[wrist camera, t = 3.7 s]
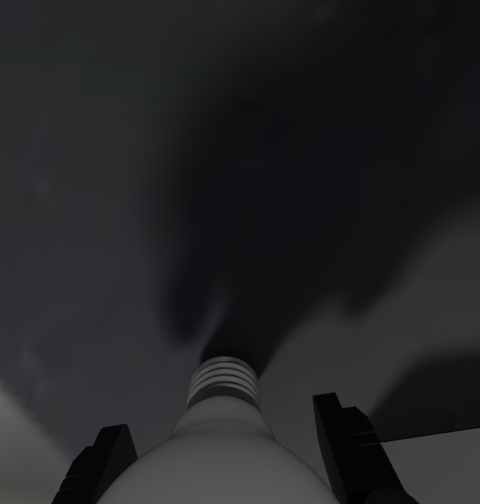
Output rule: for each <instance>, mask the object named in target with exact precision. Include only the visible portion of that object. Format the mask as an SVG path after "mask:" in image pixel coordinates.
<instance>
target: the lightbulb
mask: <svg viewBox="0 0 480 504" xmlns="http://www.w3.org/2000/svg"><path fill="white" fill-rule="evenodd" d="M96 504H340V503H339V501H338V500H337V498H336V497H335V495H334V494H333V493H332V491H331V490H330V489H329V487H328V486H327V485H326V484H325V482H324V481H323V480H322V479H321V478H320V477H319V476H318V475H317V473H316V472H315V471H314V470H313V469H312V468H311V467H310V466H309V465H307V464H306V463H305V462H304V461H303V460H302V459H301V458H299V457H298V456H297V455H296V454H294V453H293V452H292V451H290V450H289V449H288V448H286V447H285V446H283V445H282V444H280V443H279V442H277V441H276V439H275V436H274V434H273V432H272V429H271V427H270V425H269V424H268V422H267V420H266V419H265V418H264V416H263V415H262V411H261V402H260V393H259V385H258V379H257V376H256V374H255V372H254V370H253V369H252V368H251V367H250V366H249V365H248V364H247V363H246V362H244V361H242V360H240V359H238V358H235V357H231V356H218V357H214V358H211V359H208V360H206V361H205V362H203V363H202V364H201V365H199V366H198V368H197V369H196V370H195V371H194V373H193V375H192V378H191V381H190V388H189V394H188V399H187V404H186V409H185V413H184V414H183V415H182V417H181V418H180V419H179V420H178V422H177V423H176V425H175V427H174V429H173V430H172V432H171V435H170V437H169V439H168V440H166V441H164V442H162V443H161V444H159V445H157V446H156V447H154V448H153V449H151V450H150V451H148V452H147V453H145V454H144V455H143V456H141V457H140V458H139V459H137V460H136V461H135V462H134V463H133V464H131V465H130V466H129V467H128V468H127V469H126V470H125V471H124V472H123V473H122V474H121V475H120V476H119V477H118V478H117V479H116V480H115V481H114V482H113V483H112V484H111V485H110V486H109V488H108V489H107V490H106V491H105V492H104V494H103V495H102V496H101V497H100V499H99V500H98V501H97V503H96Z"/></svg>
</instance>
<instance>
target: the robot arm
mask: <svg viewBox="0 0 480 504" xmlns="http://www.w3.org/2000/svg"><path fill="white" fill-rule="evenodd" d="M313 405H314V413H315V420H316V428H317V435H318V441H319V446H320V450H321V454H322V458H323V461H324V465H325V468H326V471H327V475H328V478H329V482H330V485H331V488H332V492H333V494H334V495H335V497H336V498H337V500H338V501H339V503H340V504H419V503H418V502H417V501H416V500H415V499H414V498H413V497H412V496H410V495H409V494H408V493H407V492H406V491H405V489H404V487H403V486H402V484H401V482H400V480H399V478H398V476H397V474H396V472H395V470H394V468H393V466H392V464H391V462H390V460H389V458H388V456H387V454H386V452H385V450H384V448H383V446H382V444H380V440H379V438H378V436H377V434H376V433H375V431H374V429H373V427H372V425H371V423H370V421H369V419H368V417H367V416H366V415H365V414H364V413H362V412H361V411H360V410H359V409H358V408H356V407H348V408H342V407H341V404H340V402H339V400H338V397H337V395H336V393H335V392H333V393H327V394H320V395H314V396H313ZM137 459H138V457H137V454H136V451H135V447H134V444H133V440H132V437H131V434H130V430H129V427H128V426H127V425H126V424H121V425H115V426H109V427H103V428H102V429H101V430H100V432H99V434H98V436H97V438H96V440H95V443H94V445H93V446H89V447H86V448H85V449H84V450H83V451H82V452H81V453H80V454H79V455H78V456H77V457H76V459H75V460H74V461H73V463H72V464H71V466H70V468H69V470H68V472H67V474H66V478H65V479H64V480H63V482H62V484H61V486H60V488H59V492H57V494H56V496H55V498H54V500H53V502H52V504H96V503H97V501H98V500H99V499H100V497H101V496H102V495H103V494H104V492H105V491H106V490H107V489H108V488H109V486H110V485H111V484H112V483H113V482H114V481H115V480H116V479H117V478H118V477H119V476H120V475H121V474H122V473H123V472H124V471H125V470H126V469H127V468H128V467H129V466H130V465H131V464H133V463H134V462H135V461H136V460H137Z"/></svg>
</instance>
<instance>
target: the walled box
mask: <svg viewBox="0 0 480 504" xmlns="http://www.w3.org/2000/svg"><path fill="white" fill-rule="evenodd" d="M380 444H382V446H383V448H384V450H385V452H386V454H387V456H388V458H389V460H390V462H391V464H392V466H393V468H394V470H395V472H396V474H397V476H398V478H399V480H400V482H401V484H402V486H403V487H404V489H405V491H406V492H407V493H408V494H409V495H410V496H412V497H413V498H414V499H415V500H416V501H417V502H418V503H419V504H480V428H477V429H470V430H463V431H457V432H450V433H443V434H437V435H430V436H423V437H417V438H410V439H403V440H397V441H390V442H383V443H380Z"/></svg>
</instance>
